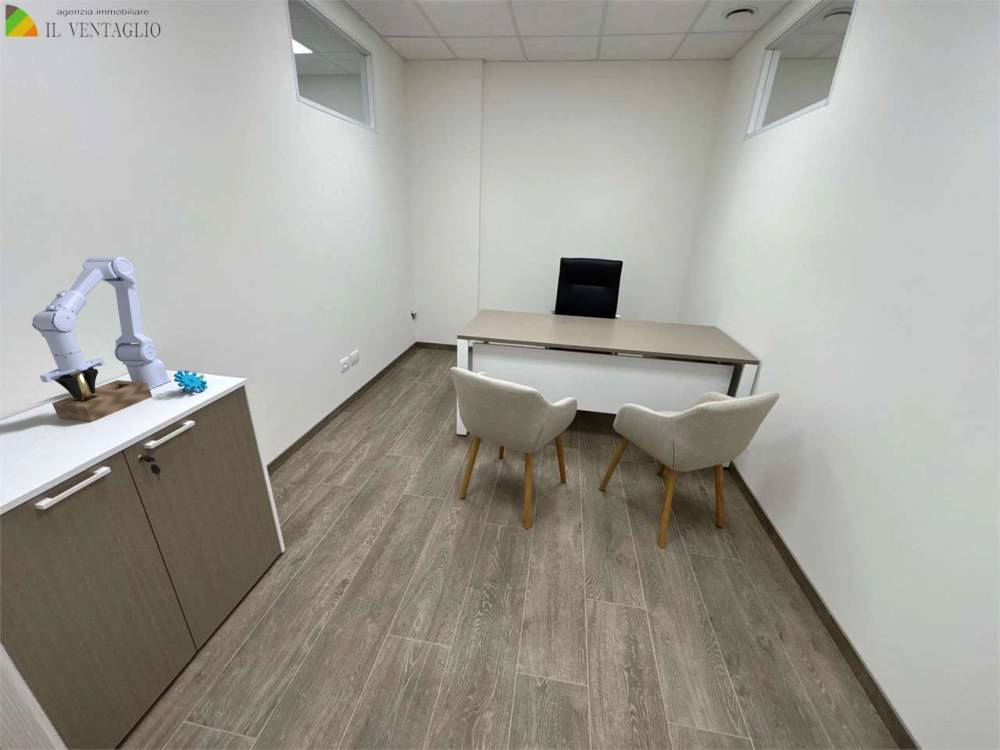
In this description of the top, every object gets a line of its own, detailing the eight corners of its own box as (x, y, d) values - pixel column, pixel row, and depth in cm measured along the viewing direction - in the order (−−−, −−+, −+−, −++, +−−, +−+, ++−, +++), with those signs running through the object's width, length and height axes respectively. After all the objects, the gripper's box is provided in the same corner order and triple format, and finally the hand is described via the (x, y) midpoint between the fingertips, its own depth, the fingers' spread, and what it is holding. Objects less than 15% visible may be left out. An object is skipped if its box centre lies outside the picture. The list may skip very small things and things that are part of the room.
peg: (90, 401, 121) (77, 371, 117) (98, 402, 120) (86, 372, 117) (78, 406, 118) (65, 375, 114) (87, 406, 118) (74, 375, 114)
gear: (193, 393, 131) (168, 372, 129) (183, 405, 132) (158, 384, 130) (217, 384, 141) (194, 365, 140) (207, 395, 142) (185, 376, 141)
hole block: (122, 393, 134) (117, 380, 132) (152, 396, 132) (147, 382, 130) (58, 418, 117) (51, 403, 115) (91, 421, 115) (85, 406, 113)
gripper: (47, 361, 106) (67, 407, 111) (105, 345, 119) (121, 387, 124) (26, 360, 107) (47, 405, 112) (86, 344, 120) (103, 385, 125)
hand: (84, 395), depth 118 cm, fingers closed on peg, 3 cm apart
